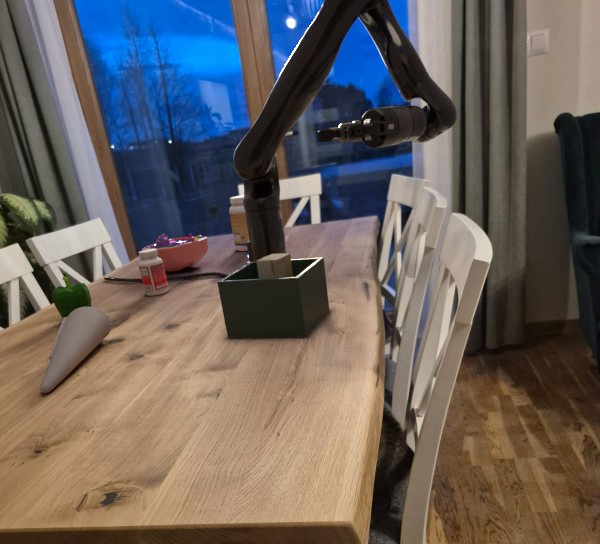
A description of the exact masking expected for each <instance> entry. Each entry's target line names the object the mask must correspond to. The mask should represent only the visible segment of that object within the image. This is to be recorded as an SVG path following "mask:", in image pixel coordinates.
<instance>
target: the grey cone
mask: <svg viewBox="0 0 600 544" xmlns="http://www.w3.org/2000/svg"><path fill="white" fill-rule="evenodd" d="M111 328H112V323H111V320H110V317H109V316H108V315H107V314H106V313H105V312H104V311H103V310H102V309H100V308H97V307H94V306H92V307H80V308H77V309H75V310H74V311H72V312H71V313H70V314H69V315H68V317H64V318H62V321H61V323H60V325H59V329H58V332H57V334H56V337H55V340H54V342H53V345H52V348H51V350H50V352H49V356H48V359H49V362H48V364H47V368H46V370H45V373H44V375H43V377H42V378H41V381H40V386H39V390H40V393H43V394H48V393H50V392H51V391H53V390H54V389H55V387H57V386H58V385H59V384H60V383H61V382H62V381H63V380H64V379H65V378H66V377H67V376H68V375H69V374H70V373H71V372H72V371H73V370H74V369H76V367H77V366H79V364H81V362H83V360H84V359H85V358H87V356H88V355H89V354H90V353H91V352H93V350H94V349H96V347H97V346H98V345H100V344H101V343H102V342H103V341H104V340H105V339H106V338H107V337H108V335H109V334H110V332H111Z"/></svg>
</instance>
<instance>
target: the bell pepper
mask: <svg viewBox="0 0 600 544" xmlns="http://www.w3.org/2000/svg"><path fill="white" fill-rule="evenodd" d="M62 280H63V281H64V283H65V286H61V285H60V286H57V287H56V288H55V289H54V290H52V293H51V299H52V302H53V304H54V306H55V308H56V311H57V312H58V313H59V315H60V317H61V318H62V319H63V318H64V317H68V315H69V314H70V313H71V312H72V311H74V310H75V309H77V308H80V307H93V305H92V297H91V294H90V290H89V288H88V286H87V285H86V283H85V282H79V283H75V284H74V283H71V282H70V280H69V278H68V277H67V275H66V276H65V275H63V277H62Z"/></svg>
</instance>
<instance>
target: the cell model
mask: <svg viewBox="0 0 600 544" xmlns="http://www.w3.org/2000/svg"><path fill="white" fill-rule="evenodd" d="M208 241H209V240H208V237H207V236H203V235H201V234H199V235H196V236H193V235H192V233H188V236H183V237H175V238H169V237H168V236H167V234H165V233H161V234H160V235H159V236H158V237H157V238H156V240H155V242H154V243H151V244H148V245H145V246H144V247H142V248H141V251H143V250H147V249H157V252H158V255H157V257H159V258H161V259H162V261H163V266H164V270H165V272H167V273H173V272H175V273H176V272H179V271H181V270H183V269H186V268H190V267H194V266H195V265H198V264H199V263H200V262H201V261H202V260H203V259H204V258H205V256H206V255H207V253H208V250H209V242H208Z"/></svg>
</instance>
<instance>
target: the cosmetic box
mask: <svg viewBox="0 0 600 544" xmlns="http://www.w3.org/2000/svg"><path fill="white" fill-rule="evenodd" d="M291 259H292V256H291V253H290V252H287V253H283V254H271V255H269V256H266V257H263V258H262V259H259V260H257V268H258V275H259V279H266V278H285V277H293V272H292V264H291Z"/></svg>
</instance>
